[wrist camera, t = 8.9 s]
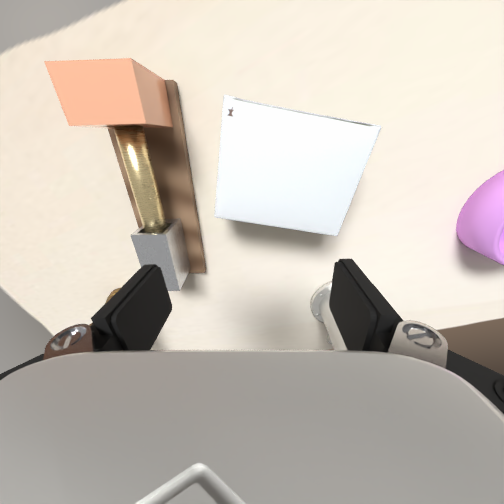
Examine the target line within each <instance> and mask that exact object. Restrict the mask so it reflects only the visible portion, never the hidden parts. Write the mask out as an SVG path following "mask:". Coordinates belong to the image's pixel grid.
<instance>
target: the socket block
mask: <svg viewBox="0 0 504 504" xmlns="http://www.w3.org/2000/svg"><path fill="white" fill-rule="evenodd" d="M44 62H45V65H46V67H47V70H48V72H49V75H50V78H51V80H52V83H53V85H54V88H55V90H56V93H57V96H58V98H59V101H60V103H61V106H62V109H63V111H64V114H65V116H66V119H67V121H68V124H69V126H80V127H95V128H110V129H114V128H113V126H123V125H141V126H143V128H162V127H173V123H172V118H171V112H170V107H169V101H168V96H167V90H166V84H165V80H164V79H162V78H161V77H159V76H157V75H156V74H154V73H153V72H151V71H150V70H148V69H147V68H145V67H144V66H142V65H140V64H139V63H137V62H136V61H134V60H133V59H131V58H127V59H99V60H72V61H44Z"/></svg>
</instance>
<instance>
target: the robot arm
mask: <svg viewBox="0 0 504 504" xmlns="http://www.w3.org/2000/svg"><path fill="white" fill-rule="evenodd" d="M311 309H312V312H313V315H314V316H315V317H316V319H318V320H319V321H320V322H322V323H324V324H325V326H326V329H327V331H328V338H327V341H328V343H329V344H332V345H333V347H334V350H150V349H151V347H152V345H153V344H154V342H155V340H156V338H157V336H158V334H159V333H160V331H161V329H162V327H163V325H164V323H165V322H166V320H167V318H168V316H169V314H170V312H171V310H172V304H171V300H170V297H169V294H168V290H167V287H166V284H165V280H164V277H163V273H162V270H161V268H160V267H158V266H157V265H156V264H146V265H143V266H142V267H141V268H140V269H139V270H138V271H137V272H136V273H135V274H134V275H133V276H132V277H131V278H130V279H129V280H128V282H127V283H126V284H125V285H124V286H123V287H122V288H121V289H120V290H119V291H118V292H117V293H116V294H115V295H114V296H113V297H112V298H111V299H110V300H109V301H108V302H107V303H106V304H105V305H104V306H103V307H102V308H101V309H100V310H99V311H98V312H97V313H96V314H95V315H94V316H93V317H92V318H91V319H92V321H93V323H92V324H91V326H89V325H87V324H78V325H74V326H71V327H68V328H66V329H64V330H62V331H61V332H59V333H57V334H56V335H55V336H54V337H52V338H51V339H50V340H49V342H48V343H47V345H46V347H45V351H44V354H42V355H40V356H37V357H35V358H33V359H31V360H29V361H27V362H25V363H23V364H21V365H18V366H16V367H14V368H12V369H10V370H8V371H6V372H4V373H2V374H0V504H504V376H503V375H501V374H499V373H497V372H495V371H493V370H491V369H488V368H486V367H484V366H482V365H480V364H478V363H475V362H473V361H471V360H469V359H467V358H465V357H463V356H461V355H458V354H456V353H454V352H452V351H450V350H448V345H447V341H446V340H445V338H444V337H443V336H442V335H441V334H440V333H439V332H438V331H437V330H435V329H434V328H432V327H430V326H428V325H426V324H424V323H421V322H417V321H411V320H407V321H403V320H402V319H401V317H400V316H399V315H398V314H397V313H396V311H395V310H394V309H393V308H392V306H391V305H390V304H389V303H388V302H387V300H386V299H385V298H384V297H383V295H382V294H381V293H380V292H379V291H378V289H377V288H376V287H375V286H374V285H373V284H372V283H371V282H370V280H369V279H368V278H367V277H366V276H365V274H364V273H363V272H362V271H361V269H360V268H359V267H358V266H357V265H356V263H355V262H354V261H353V260H352V259H339V261H338V262H335V266H334V273H333V279H332V281H331V282H329V283H326V284H325V285H323V286H322V287H321V288H319V289H318V290H317V291H316V293H315V294H314V296H313V298H312V301H311Z"/></svg>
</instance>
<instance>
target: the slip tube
mask: <svg viewBox="0 0 504 504" xmlns="http://www.w3.org/2000/svg"><path fill="white" fill-rule="evenodd" d="M113 128H114V132H115V135H116V138H117V142H118V145H119V148H120V152H121V155H122V158H123V162H124V165H125V168H126V172H127V175H128V178H129V182H130V185H131V188H132V192H133V195H134V198H135V202H136V205H137V208H138V212H139V215H140V218H141V221H142V225H143V228H144V231H145V233H164V232H165V231H166V230H167V224H166V220H165V216H164V212H163V207H162V203H161V199H160V195H159V191H158V187H157V182H156V178H155V174H154V170H153V166H152V162H151V157H150V153H149V149H148V145H147V141H146V137H145V132H144V128H143V126H141V125H123V126H113Z"/></svg>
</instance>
